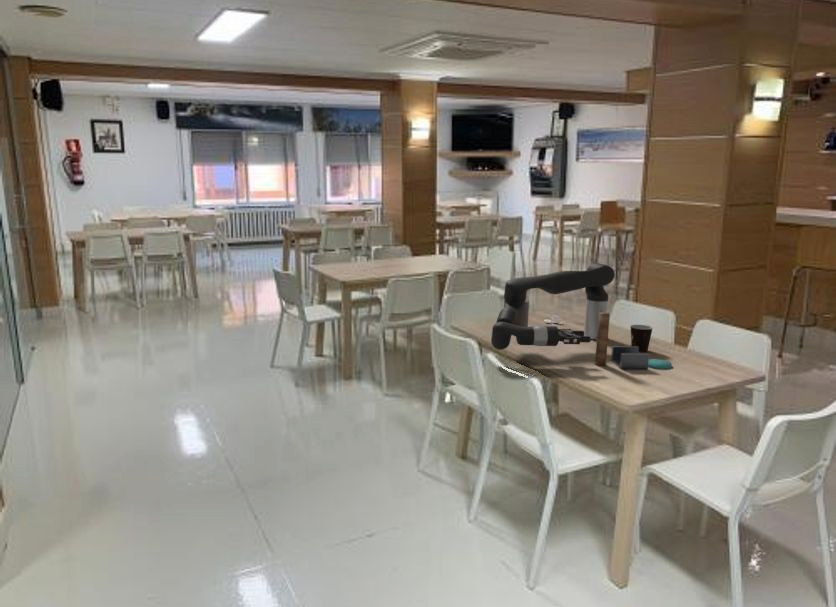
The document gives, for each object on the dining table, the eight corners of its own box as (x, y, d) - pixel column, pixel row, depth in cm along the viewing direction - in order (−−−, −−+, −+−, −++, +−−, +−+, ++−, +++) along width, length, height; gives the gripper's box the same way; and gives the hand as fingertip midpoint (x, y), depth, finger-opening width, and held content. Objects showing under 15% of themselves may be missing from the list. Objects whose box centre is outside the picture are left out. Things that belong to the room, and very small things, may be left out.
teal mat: (639, 361, 249) (639, 358, 249) (665, 361, 250) (665, 359, 249) (649, 368, 240) (649, 366, 239) (675, 369, 240) (675, 366, 240)
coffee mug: (631, 346, 271) (633, 323, 269) (652, 349, 267) (654, 326, 265) (624, 352, 261) (626, 329, 260) (646, 356, 257) (648, 331, 255)
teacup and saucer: (542, 323, 313) (542, 315, 312) (550, 321, 318) (551, 313, 317) (557, 327, 307) (558, 318, 306) (566, 324, 312) (566, 316, 312)
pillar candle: (508, 331, 295) (509, 299, 292) (505, 326, 304) (507, 295, 301) (529, 331, 295) (531, 299, 292) (526, 326, 304) (528, 295, 301)
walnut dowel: (593, 363, 246) (597, 312, 242) (603, 363, 246) (607, 312, 242) (596, 366, 242) (600, 314, 238) (607, 366, 242) (611, 314, 238)
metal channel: (610, 360, 250) (612, 345, 249) (636, 361, 250) (637, 346, 249) (621, 369, 238) (622, 354, 237) (647, 370, 239) (649, 354, 237)
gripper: (549, 330, 234) (593, 331, 234) (540, 322, 248) (582, 322, 248) (548, 350, 235) (591, 351, 236) (539, 340, 249) (581, 341, 250)
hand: (586, 336), depth 242 cm, fingers open, 8 cm apart
